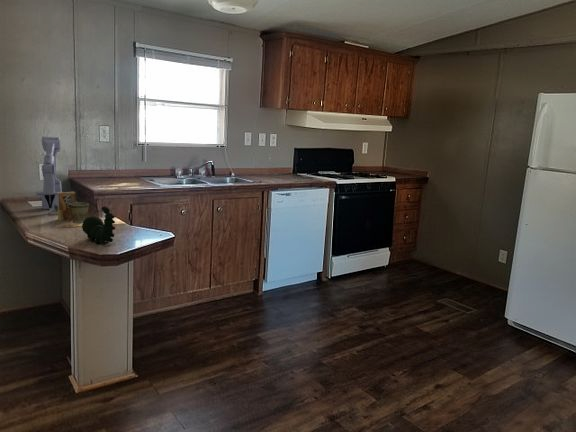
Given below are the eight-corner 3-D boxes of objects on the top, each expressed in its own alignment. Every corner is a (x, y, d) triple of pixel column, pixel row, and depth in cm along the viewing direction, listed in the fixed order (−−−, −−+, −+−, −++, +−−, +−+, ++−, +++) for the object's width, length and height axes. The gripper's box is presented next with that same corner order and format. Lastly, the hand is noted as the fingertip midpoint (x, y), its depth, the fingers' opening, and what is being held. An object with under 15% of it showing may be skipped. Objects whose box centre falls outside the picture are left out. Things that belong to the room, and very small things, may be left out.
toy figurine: (120, 248, 214) (94, 233, 230) (121, 208, 210) (95, 196, 226) (100, 251, 208) (75, 235, 223) (101, 210, 203) (75, 197, 219)
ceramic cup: (81, 224, 250) (81, 206, 248) (65, 222, 252) (64, 204, 250) (96, 219, 263) (95, 202, 261) (80, 218, 264) (80, 201, 263)
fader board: (49, 214, 270) (49, 211, 269) (49, 212, 277) (49, 209, 276) (87, 213, 279) (87, 210, 278) (86, 210, 286) (86, 208, 285)
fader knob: (54, 211, 272) (54, 205, 271) (54, 209, 276) (54, 204, 276) (60, 211, 273) (59, 205, 273) (60, 209, 278) (59, 203, 277)
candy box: (74, 218, 264) (73, 191, 261) (76, 219, 261) (75, 192, 258) (57, 219, 259) (56, 192, 256) (59, 220, 255) (58, 193, 252)
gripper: (34, 185, 264) (36, 209, 266) (63, 185, 270) (64, 208, 273) (35, 184, 270) (36, 207, 272) (63, 183, 276) (63, 206, 279)
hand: (50, 207), depth 273 cm, fingers closed
